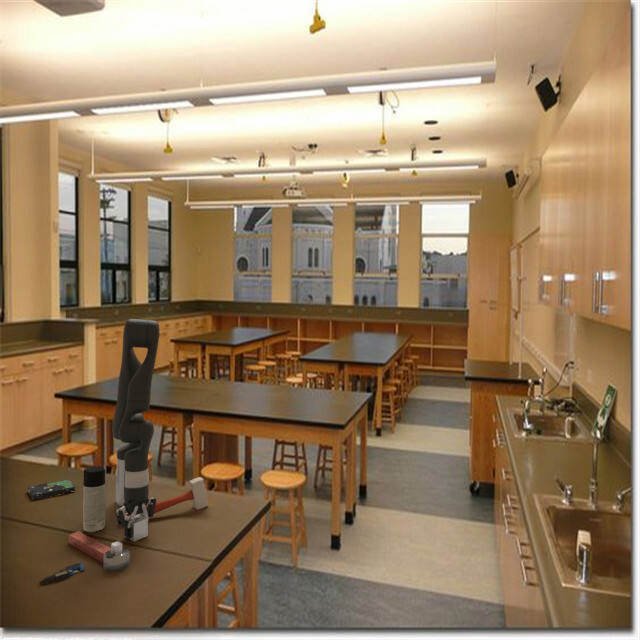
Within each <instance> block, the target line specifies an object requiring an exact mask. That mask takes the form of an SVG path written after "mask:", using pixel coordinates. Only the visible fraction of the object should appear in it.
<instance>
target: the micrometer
mask: <svg viewBox="0 0 640 640" xmlns="http://www.w3.org/2000/svg"><path fill="white" fill-rule="evenodd" d="M79 570H80V572H83V571H85V568H84V564H83V563H81V562H80V563H79V562H78V563H75V564H71V565H67V566H66V567H64V568H63V569H60V570H58V571H55V572H54V573H53V574H52V575H49V576H45V577H44V578H43V579H42V580H40V581H39V584H40V585H43V584H44V585H48V584H51V583H54V582H55V583H57V582H60V581H63V580H66V579H68V578H71V576H73V575H74V574H75V573H78V572H79Z"/></svg>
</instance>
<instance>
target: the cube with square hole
mask: <svg viewBox="0 0 640 640" xmlns="http://www.w3.org/2000/svg"><path fill="white" fill-rule="evenodd" d="M148 528H149V520H148V518H146V517H144V516H140V515H139V514H138V515H136V516H135V518H134V520H133V521H132V524H131V538H130V539H129V540H130V541H132V542H137V541H139V540H141V539H144V538H146V537H148V534H149V532H148V531H149V529H148Z"/></svg>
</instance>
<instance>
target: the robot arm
mask: <svg viewBox="0 0 640 640" xmlns="http://www.w3.org/2000/svg"><path fill="white" fill-rule="evenodd" d="M122 332H123V335H122V356H121V365H120V370H119V375H118V385H117V396H116V397H117V398H116V404H115V411H114V414H113V417H112V418H113V420H112V425H111V427H112V428H111V432H112V436H113V438H114V439H116V440H117V441H121V442H122V443H123V444H124V443H125V445H123V446H121V447H119V448H118V449H117V451H116V476H115V502H116V505H117V506H118V507H119V508H117V507H116V508H115V510H114V513H115V518H116V521H117V522H116V523H117V525H118V526H119V527H121V528H123V532H124V538H126V539H128V540H130V538H131V524H132V521H133V520H134V518H135V516H136V515H137V514H140V516H144V517H146V518H148V521H149V520H150V519H151V518H153V517H154V515H155V514H154V510H155V505H156V503H157V498H155V497H153V496H150V492H149V491H150V489H149V487H150V485H149V484H150V481H149V480H150V476H149V451H150V447H151V443H152V440H153V436H154V434H155V433H154V432H155V426H154V424H153V422H152V421H150V420H147V419H145V418H144V416H143V413H146V412H149V410H150V406H151V392H152V390H151V389H152V382H153V381H152V380H153V375H154V371H155V365H156V360H157V355H158V347H159V341H160V324H159V322H158V321H156V320H152V319H151V320H150V319H137V318H129V319H127V320H126V322H125V323H124V326H123V331H122ZM134 348H141V349H147V351H146V356H145V358H144V360H143V362H140V360H139V357H137V355H136V353H135V350H134ZM146 506H147V510H146ZM124 514H125V518H124ZM130 515H131V516H130Z"/></svg>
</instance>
